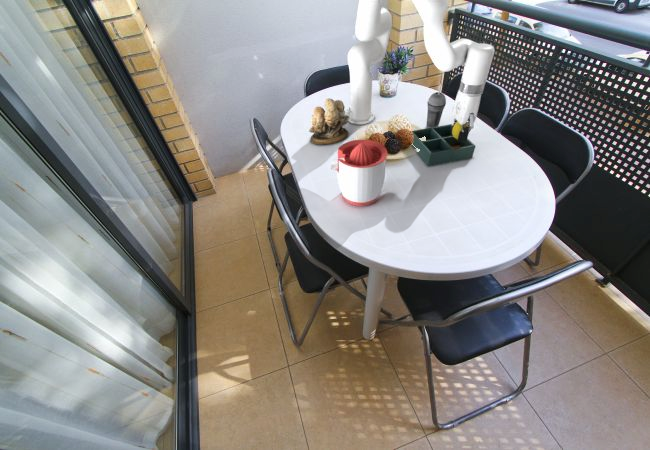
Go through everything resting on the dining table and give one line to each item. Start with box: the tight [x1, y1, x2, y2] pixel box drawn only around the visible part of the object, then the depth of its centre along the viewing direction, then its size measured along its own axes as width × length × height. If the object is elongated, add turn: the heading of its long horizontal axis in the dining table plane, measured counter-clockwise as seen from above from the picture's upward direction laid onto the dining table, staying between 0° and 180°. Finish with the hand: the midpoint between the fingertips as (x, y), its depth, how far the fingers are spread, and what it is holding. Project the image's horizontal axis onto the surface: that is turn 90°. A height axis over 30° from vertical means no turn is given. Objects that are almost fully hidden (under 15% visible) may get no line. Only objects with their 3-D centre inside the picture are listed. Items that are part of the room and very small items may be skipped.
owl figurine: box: [308, 98, 349, 146], centre depth 131 cm, size 18×12×17 cm, turn 116°
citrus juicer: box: [330, 139, 389, 207], centre depth 101 cm, size 16×17×20 cm
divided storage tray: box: [410, 123, 476, 167], centre depth 122 cm, size 18×18×5 cm
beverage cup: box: [426, 82, 447, 128], centre depth 129 cm, size 7×7×20 cm
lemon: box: [452, 121, 468, 140], centre depth 115 cm, size 6×6×8 cm
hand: (458, 136), depth 117 cm, fingers closed on lemon, 5 cm apart
